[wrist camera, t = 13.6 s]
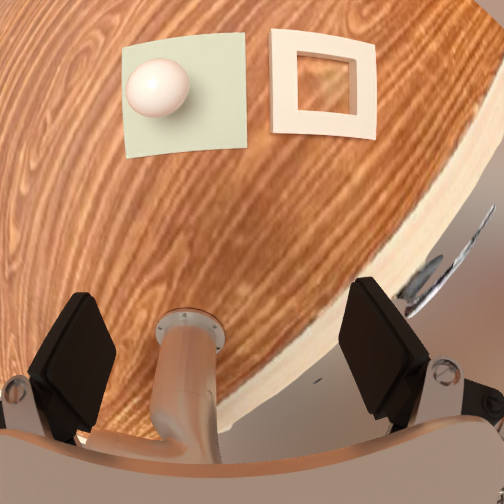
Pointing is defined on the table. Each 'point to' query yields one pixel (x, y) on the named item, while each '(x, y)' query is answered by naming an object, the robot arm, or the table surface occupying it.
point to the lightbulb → (157, 87)
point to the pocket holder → (286, 91)
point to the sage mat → (192, 96)
